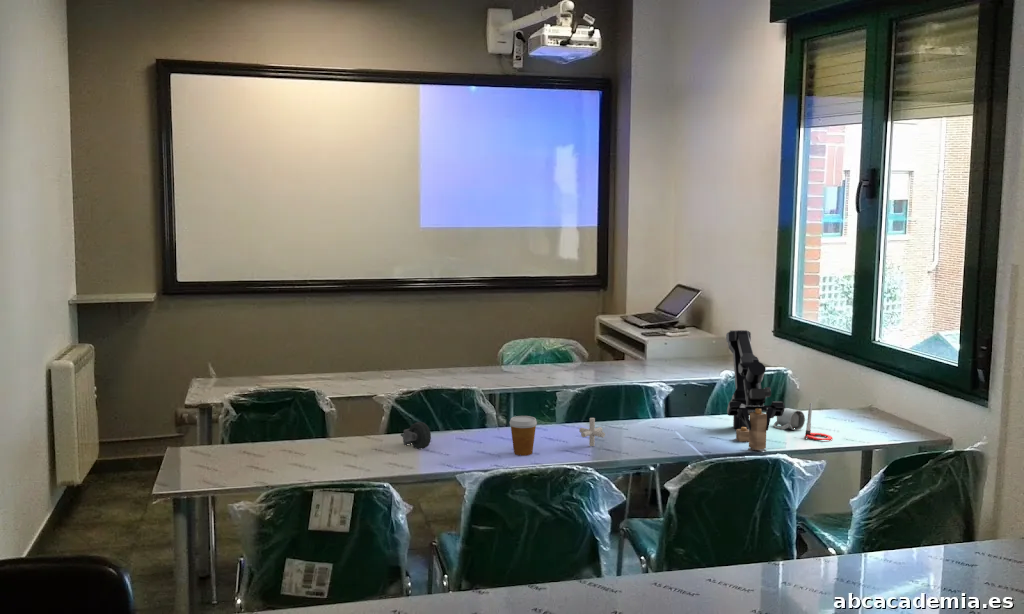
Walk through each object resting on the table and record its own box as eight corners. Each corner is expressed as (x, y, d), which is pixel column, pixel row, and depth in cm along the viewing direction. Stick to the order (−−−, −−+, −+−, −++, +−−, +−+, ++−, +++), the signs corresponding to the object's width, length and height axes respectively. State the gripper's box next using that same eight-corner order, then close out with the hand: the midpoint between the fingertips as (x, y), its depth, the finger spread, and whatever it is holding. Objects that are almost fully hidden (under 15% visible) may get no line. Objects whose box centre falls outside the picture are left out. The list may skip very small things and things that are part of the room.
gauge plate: (724, 439, 319) (724, 437, 319) (754, 438, 320) (754, 436, 320) (745, 455, 298) (745, 453, 298) (777, 454, 300) (777, 452, 300)
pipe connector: (571, 446, 310) (572, 418, 309) (589, 441, 317) (589, 413, 316) (594, 451, 303) (594, 423, 302) (611, 446, 310) (612, 418, 309)
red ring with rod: (833, 438, 323) (806, 434, 326) (836, 403, 321) (809, 400, 325) (831, 443, 315) (803, 439, 319) (834, 408, 313) (807, 405, 317)
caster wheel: (433, 451, 308) (407, 439, 318) (434, 425, 306) (409, 413, 317) (420, 454, 304) (394, 442, 315) (421, 427, 302) (396, 416, 313)
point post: (748, 446, 304) (749, 408, 302) (757, 445, 306) (758, 407, 304) (756, 449, 300) (757, 411, 299) (765, 448, 302) (767, 409, 300)
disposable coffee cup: (505, 451, 304) (504, 417, 303) (530, 448, 308) (530, 414, 307) (516, 458, 296) (516, 423, 294) (541, 455, 299) (541, 420, 298)
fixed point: (736, 438, 318) (736, 426, 317) (746, 438, 318) (747, 426, 317) (740, 441, 314) (740, 429, 313) (751, 441, 314) (751, 428, 313)
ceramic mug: (789, 424, 341) (789, 405, 340) (805, 429, 334) (805, 409, 333) (768, 428, 336) (768, 408, 335) (784, 433, 329) (784, 412, 328)
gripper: (729, 378, 305) (734, 417, 295) (784, 378, 303) (791, 418, 294) (725, 395, 313) (729, 434, 304) (778, 396, 312) (784, 434, 303)
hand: (758, 429), depth 301 cm, fingers closed on point post, 5 cm apart
